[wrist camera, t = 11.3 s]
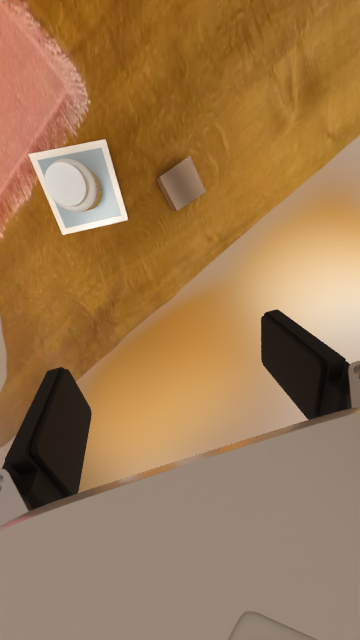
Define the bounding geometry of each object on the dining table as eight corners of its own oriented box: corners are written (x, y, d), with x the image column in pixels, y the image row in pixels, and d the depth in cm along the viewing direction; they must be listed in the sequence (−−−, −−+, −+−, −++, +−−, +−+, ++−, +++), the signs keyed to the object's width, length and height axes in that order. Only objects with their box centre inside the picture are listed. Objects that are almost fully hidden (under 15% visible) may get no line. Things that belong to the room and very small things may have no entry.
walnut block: (182, 161, 35) (190, 155, 31) (197, 192, 38) (206, 191, 33) (155, 179, 36) (159, 176, 31) (171, 210, 38) (177, 211, 34)
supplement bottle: (108, 182, 32) (101, 175, 24) (94, 218, 34) (82, 223, 25) (69, 157, 30) (46, 140, 21) (55, 196, 31) (29, 194, 23)
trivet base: (107, 144, 32) (105, 138, 30) (128, 218, 37) (128, 220, 35) (36, 158, 32) (27, 154, 29) (67, 232, 36) (62, 235, 34)
